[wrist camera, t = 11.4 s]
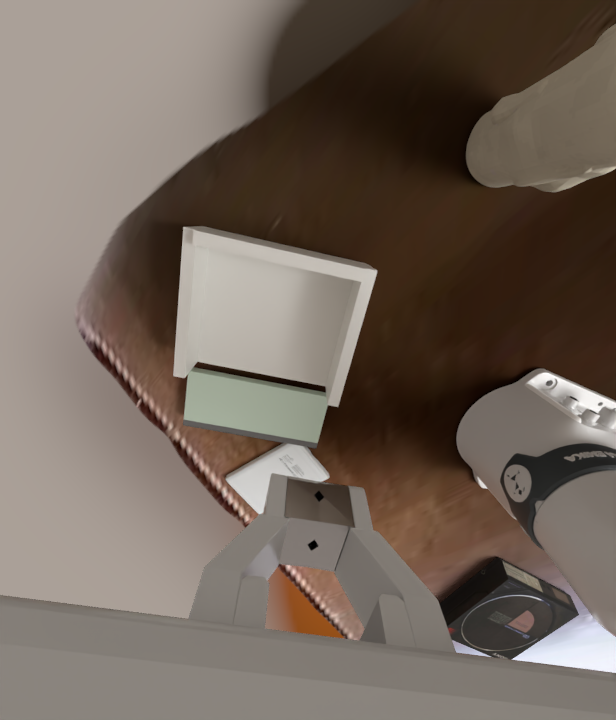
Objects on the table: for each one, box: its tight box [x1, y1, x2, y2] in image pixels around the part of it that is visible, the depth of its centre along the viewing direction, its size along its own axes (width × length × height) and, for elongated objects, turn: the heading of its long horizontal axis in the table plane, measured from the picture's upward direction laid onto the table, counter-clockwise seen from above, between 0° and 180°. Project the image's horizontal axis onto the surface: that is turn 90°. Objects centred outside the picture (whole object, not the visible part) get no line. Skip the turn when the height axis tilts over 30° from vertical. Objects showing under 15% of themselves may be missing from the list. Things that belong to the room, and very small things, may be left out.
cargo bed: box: [173, 226, 377, 407], centre depth 35 cm, size 18×15×7 cm
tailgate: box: [183, 367, 328, 448], centre depth 42 cm, size 17×1×8 cm
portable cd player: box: [440, 557, 579, 660], centre depth 58 cm, size 16×17×4 cm
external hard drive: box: [226, 443, 330, 514], centre depth 48 cm, size 2×8×12 cm
